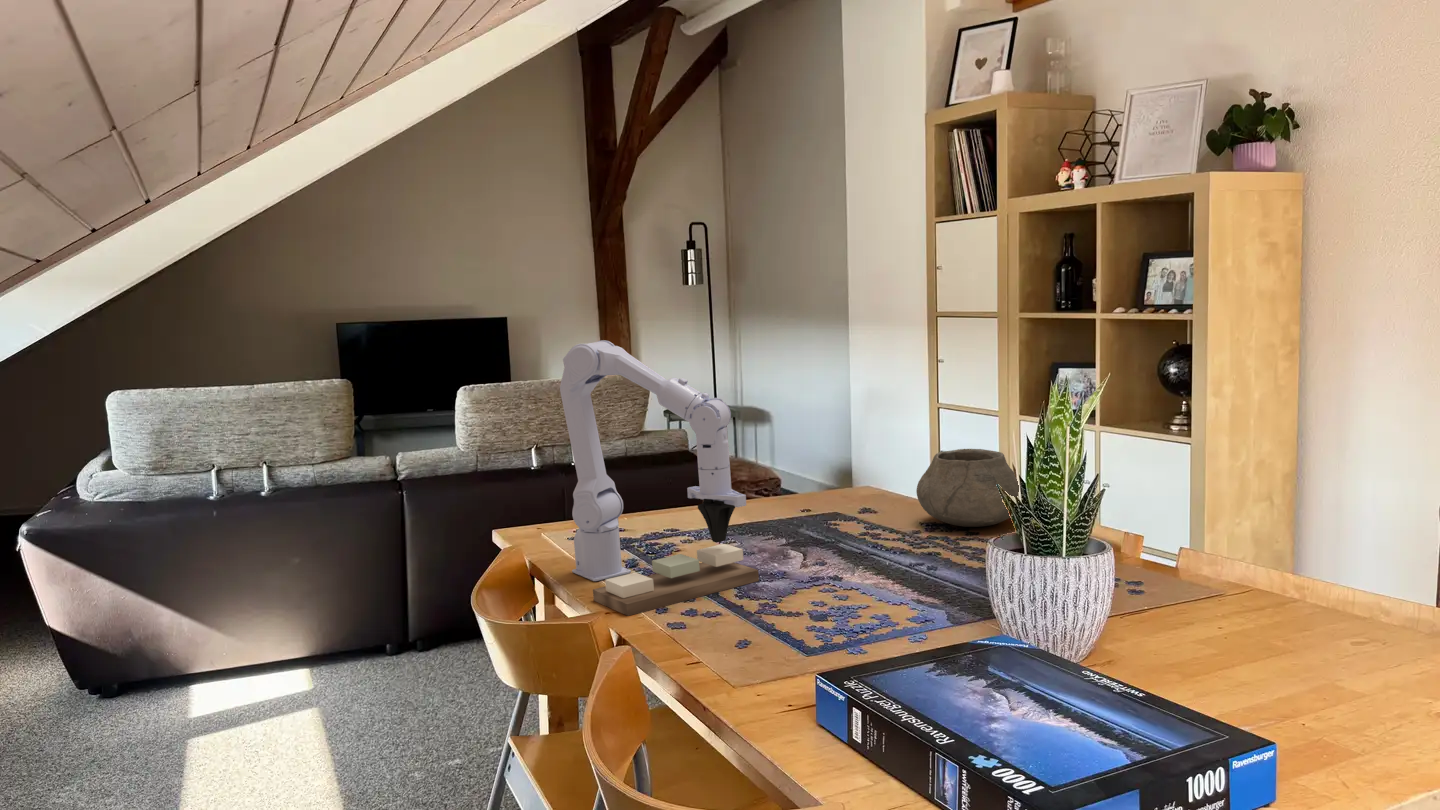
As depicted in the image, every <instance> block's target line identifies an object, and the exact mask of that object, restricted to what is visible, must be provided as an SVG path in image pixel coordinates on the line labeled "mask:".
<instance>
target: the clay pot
mask: <svg viewBox="0 0 1440 810" xmlns="http://www.w3.org/2000/svg"><path fill="white" fill-rule="evenodd" d="M1014 473H1015V472H1014V470H1013V469H1012V468H1011V467H1010V465H1009V463H1008V462H1007V459H1006V457H1005V453H1003V452H1000V451H995V450H990V449H983V448H959V449H953V450H945V451H939V452H937V453H936V454H935V455H934V456H933V458H932V460H931V462H930V465H929V466H928V467H927V469H926V470H925V471H924V473H923V474H922V476H921V477H920V479H919V481H918V483H917V486H916V492H915V493H916V496H917V500H918V502H919V504H920V506H921V507H922V509H923V511H925V512H926V513H927V514H928V515H929V516H931V517H932V518H934V519H935V520H939V521H941V522H943V523H946V524H948V525H952V526H957V527H964V528H966V527H967V528H977V527H978V528H979V527H989V526H992V525H993V526H994V525H996V524H1000V523H1002V522H1005V521H1006V520H1008V519H1010V518H1011V517H1010V516H1009V513H1008V510H1007V509H1006V507H1005V505H1004V503H1003V502H1002V498H1001V495H1000V493H999V490H998V488H997V486H996V484H999V485H1000V486H1001V487H1002V489H1003V490H1004V491H1006V492H1007V493H1008V494H1009V495H1011V496H1014V497H1017V496H1018V492H1019V485H1018V481H1017V479H1016V477H1015V475H1014Z"/></svg>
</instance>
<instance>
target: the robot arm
mask: <svg viewBox="0 0 1440 810" xmlns="http://www.w3.org/2000/svg"><path fill="white" fill-rule="evenodd" d="M562 362H563V366H564V368H563V373H562V376H561V381H560V384H559V385H560V386H559V390H560V391H559V392H560V393H559V394H560V397H561V401H562V402H561V403H562V406H563V412H564V417H565V422H566V427H567V432H568V436H569V441H570V443H569V444H570V446H571V450H572V457H573V460H574V461H573V462H574V466H575V470H576V471H575V472H576V477H577V483H576V486H575V488H574V490H573V493H572V498H573V506H572V513H571V514H572V519H573V522H574V523H575V525H576V526H577V528H578V529H577V531H575V535H574V537H573V545H574V546H573V547H574V558H575V568H574V569H573V568H572V570H571V572H572V573H573V574H576V575H578V576H580V577H583V578H585V579H588V580H590V581H593V582H598V581H602V580H606V579H610V578H614V577H618V576H623V575H627V574H631V573H632V570H631V569H628V568H626V567H624V566H622V565H623V563H622V552H621V541H620V540H621V539H620V527H619V518H620V516H621V515H622V514H623V511H624V500H623V499H622V496H621V495H620V494H619V493H618V491H617V488H616V487H617V486H616V484H615V481H614V480H613V479H612V478H611V477H610V476H609V475H608V474H607V469H606V465H605V461H604V460H605V459H604V455H603V451H602V445H601V441H600V434H599V429H598V425H597V421H596V415H595V410H594V406H593V405H594V404H593V400H592V395H591V393H592V392H593V391H594V389H595V388H596V387H597V385H598V384H599V382H601V380H603V379H604V378H605V377H607V376H621V377H623V378H625V379H627V380H629V381H630V382H632V383H633V384H636V385H638V386H640V387H641V388H643V389H645V390H647V391H649V392H651V393H653V394H654V395H656V397H657V398H656V399H657V401H658V404H659V405H660V406H662V407H663V408H665V409H666V410H668V411H670V412H672V413H673V414H675V415H677V416H678V417H680V418H681V419H683V420H685V421H686V422H687V423H689V426H690V428H691V429H692V431H693V432H694V433H695V438H696V439H695V441H696V442H695V443H696V453H697V454H696V456H697V470H698V471H697V472H698V481H699V484H698V485H699V486H696V485H695V486H689V487H687V488H686V489H687V498H688V499H697V500H699V499H700V500H703V501H702V503H699V504H697V509H698V511H699V512H700V513H701V515H702V516H703V519H704V521H705V523H706V525H707V529H708V530H709V531H708V532H709V534H710V538H711V541H712V543H717V544H718V543H722V542H725V541H726V539H727V533H728V528H729V524H730V522H731V521H730V520H731V517H732V515H733V513H734V510H735V509H736V508H740V507H741V508H742V507H745V506H747V495H746V494H743V493H741V492H738V491H737V490H735V489H733V488H732V478H731V463H730V447H729V446H730V445H729V439H728V438H729V436H728V427H727V426H728V425H729V424H730V422H731V420H732V419H731V418H732V412H731V409H730V406H729V405H728V404H727V403H726V402H724V400H723V399H722V398H719V397H712V398H710V394H709V393H707V392H701V391H699V390H698V389H696V388H694V387H693V386H691V385H689V384H688V379H686V378H685V377H680V378H678V377H671V378H668V379H667V378H665V377H664V376H662V375H661V374H659V373H658V372H656V371H655V370H653V369H652V368H650V367H649V366H647V365H646V364H644V363H643V362H641V361H640V360H638V359H637V358H636V357H634V356H633V355H631V354H630V353H628V352H627V351H626V350H625V349H624V347H620V346H618V345H615V344H614V343H612V342H611V341H609V340H604V339H603V340H602V339H601V340H598V341H594V342H587V343H577V344H575V345H574V346H572V347H571V348H570V349H569V351H568V352H567V353H566V354H565V356H564V357H563V358H562Z"/></svg>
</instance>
